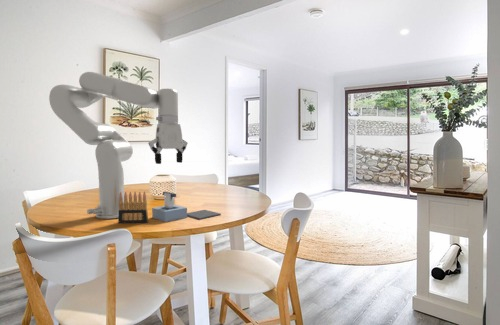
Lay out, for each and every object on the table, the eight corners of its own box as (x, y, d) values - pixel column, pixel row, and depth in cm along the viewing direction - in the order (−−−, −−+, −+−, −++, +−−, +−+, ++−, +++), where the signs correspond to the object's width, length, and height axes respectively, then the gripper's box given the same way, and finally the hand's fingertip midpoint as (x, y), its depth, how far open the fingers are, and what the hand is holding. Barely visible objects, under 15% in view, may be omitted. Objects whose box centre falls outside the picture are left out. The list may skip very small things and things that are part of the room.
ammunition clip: (148, 221, 123) (147, 191, 122) (147, 223, 121) (146, 191, 120) (119, 222, 122) (119, 191, 121) (118, 223, 120) (117, 192, 119)
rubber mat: (199, 219, 126) (199, 218, 126) (183, 215, 133) (183, 213, 133) (220, 215, 134) (220, 213, 134) (204, 210, 141) (204, 209, 141)
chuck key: (170, 220, 125) (170, 194, 124) (160, 216, 130) (159, 192, 130) (179, 218, 128) (179, 193, 127) (168, 215, 133) (168, 191, 133)
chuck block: (165, 222, 122) (165, 211, 122) (152, 217, 129) (152, 207, 129) (187, 217, 129) (186, 207, 129) (173, 213, 136) (173, 204, 136)
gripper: (153, 118, 118) (154, 164, 119) (191, 121, 130) (192, 162, 132) (143, 119, 123) (144, 163, 124) (181, 121, 135) (181, 161, 137)
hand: (169, 163), depth 128 cm, fingers open, 9 cm apart
